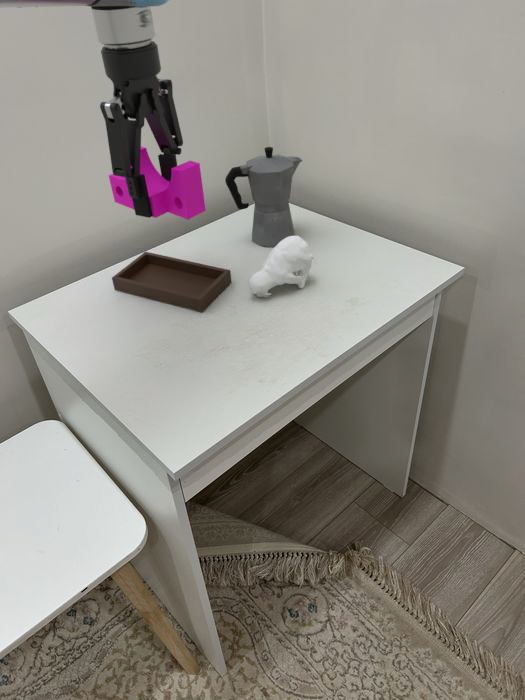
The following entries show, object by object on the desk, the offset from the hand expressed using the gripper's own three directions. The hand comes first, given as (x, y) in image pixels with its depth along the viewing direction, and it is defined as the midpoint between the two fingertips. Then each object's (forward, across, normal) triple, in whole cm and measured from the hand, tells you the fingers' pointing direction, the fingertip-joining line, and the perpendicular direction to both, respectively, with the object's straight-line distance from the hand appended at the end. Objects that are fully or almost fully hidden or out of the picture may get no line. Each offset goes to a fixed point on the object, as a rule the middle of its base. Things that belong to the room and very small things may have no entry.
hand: (159, 204), depth 87 cm
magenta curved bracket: (0, 0, 0) cm, 0 cm away
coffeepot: (+16, +23, -7) cm, 29 cm away
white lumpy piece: (+16, +7, -17) cm, 25 cm away
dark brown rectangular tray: (+16, +1, +1) cm, 16 cm away
